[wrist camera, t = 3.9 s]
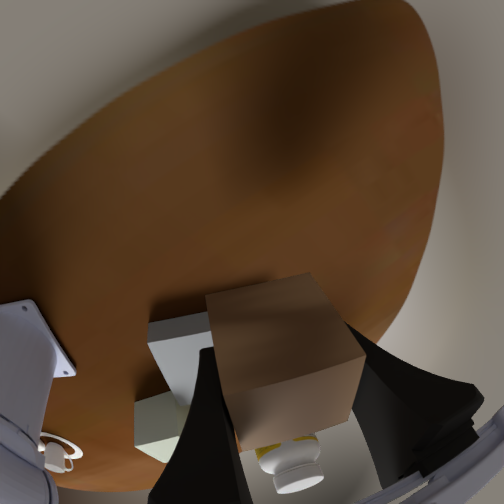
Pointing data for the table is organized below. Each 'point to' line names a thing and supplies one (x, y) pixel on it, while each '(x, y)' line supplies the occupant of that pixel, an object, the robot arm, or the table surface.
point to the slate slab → (180, 351)
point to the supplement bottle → (292, 463)
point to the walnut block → (283, 360)
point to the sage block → (159, 425)
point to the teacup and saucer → (57, 454)
